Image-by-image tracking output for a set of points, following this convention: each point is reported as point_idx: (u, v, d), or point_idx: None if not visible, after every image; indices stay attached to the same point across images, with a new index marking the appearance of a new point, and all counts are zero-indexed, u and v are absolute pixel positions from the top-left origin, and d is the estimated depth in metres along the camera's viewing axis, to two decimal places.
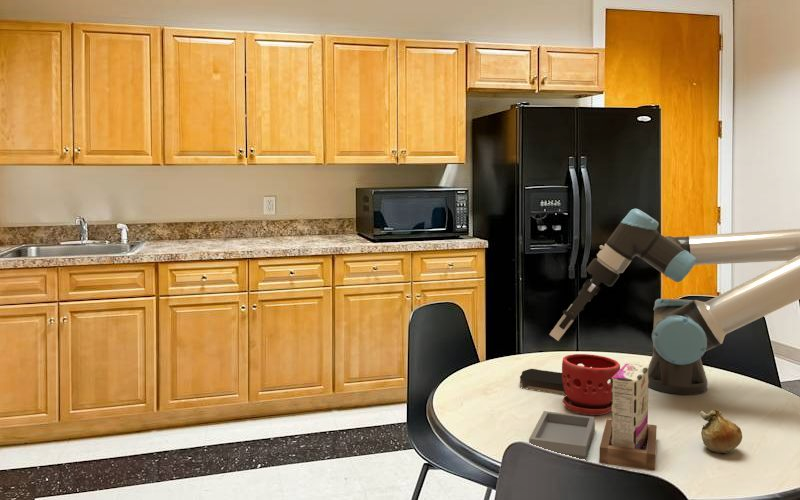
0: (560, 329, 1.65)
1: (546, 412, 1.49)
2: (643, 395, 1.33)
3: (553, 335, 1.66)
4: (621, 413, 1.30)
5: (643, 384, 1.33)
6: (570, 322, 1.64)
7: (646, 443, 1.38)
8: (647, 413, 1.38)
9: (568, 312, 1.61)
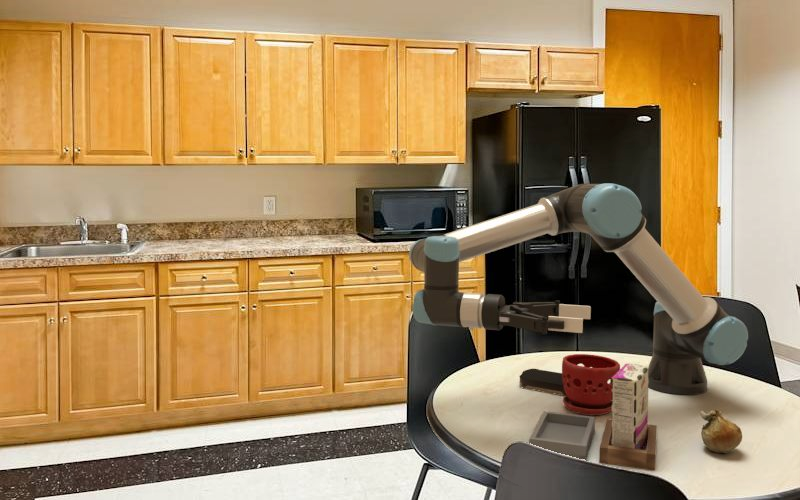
0: (567, 324, 1.30)
1: (546, 412, 1.49)
2: (643, 395, 1.33)
3: (579, 327, 1.29)
4: (621, 413, 1.30)
5: (643, 384, 1.33)
6: (552, 318, 1.31)
7: (646, 443, 1.38)
8: (647, 413, 1.38)
9: (537, 330, 1.30)
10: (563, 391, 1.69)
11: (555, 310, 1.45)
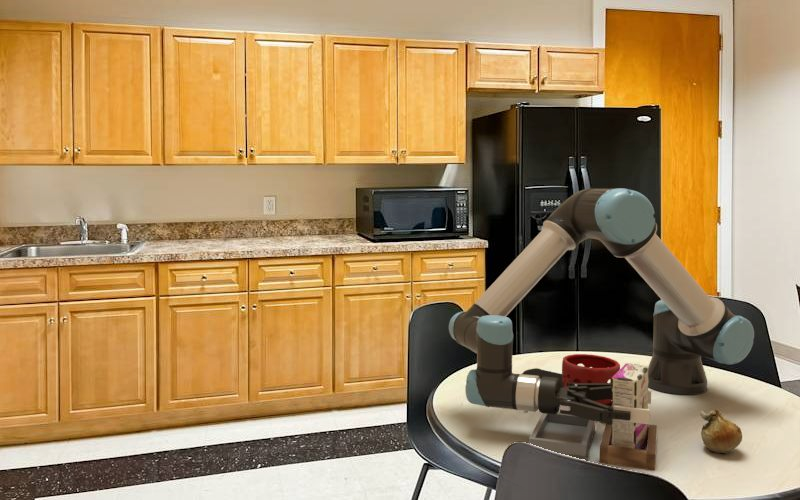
0: (634, 415, 1.28)
1: None
2: (643, 395, 1.33)
3: (646, 419, 1.27)
4: None
5: (643, 384, 1.33)
6: (618, 408, 1.29)
7: (646, 443, 1.38)
8: None
9: (603, 421, 1.27)
10: None
11: None
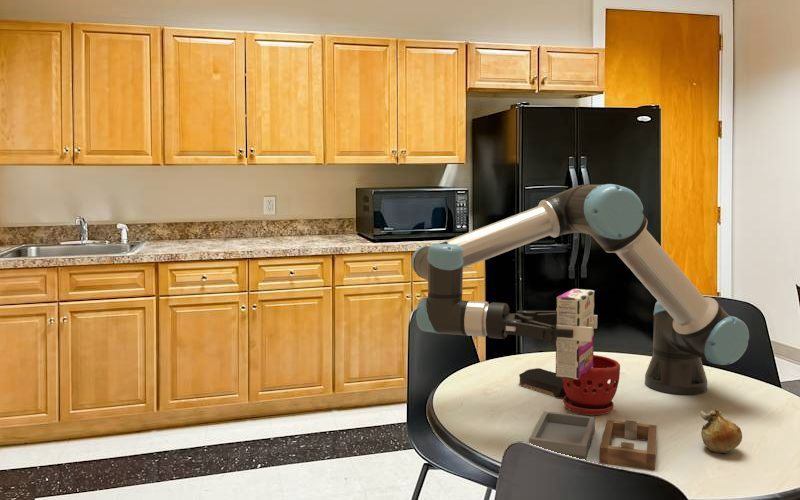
0: (576, 333, 1.30)
1: (546, 412, 1.49)
2: (588, 316, 1.36)
3: (588, 336, 1.29)
4: None
5: (587, 305, 1.35)
6: (561, 327, 1.31)
7: (592, 366, 1.40)
8: (593, 337, 1.40)
9: (546, 338, 1.30)
10: (554, 392, 1.68)
11: None
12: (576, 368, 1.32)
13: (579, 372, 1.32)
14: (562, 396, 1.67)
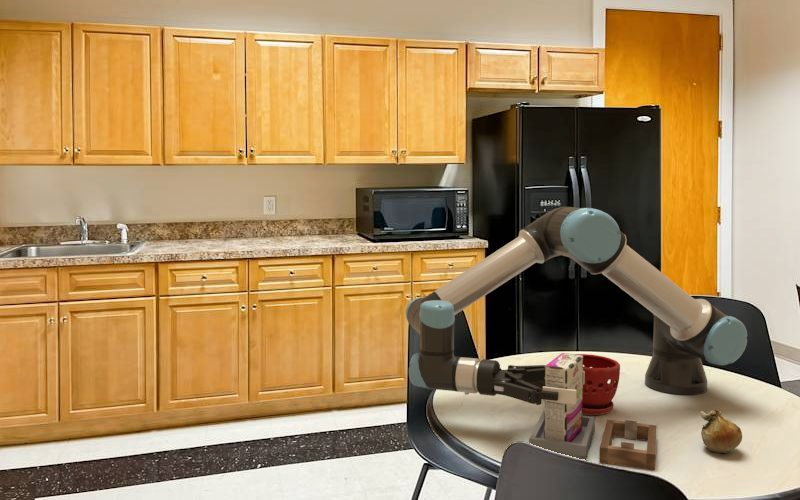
0: (561, 395, 1.32)
1: None
2: (576, 383, 1.38)
3: (573, 399, 1.31)
4: None
5: (576, 372, 1.37)
6: (546, 389, 1.33)
7: (580, 430, 1.43)
8: (581, 401, 1.42)
9: (532, 401, 1.31)
10: None
11: None
12: (564, 436, 1.34)
13: (567, 439, 1.35)
14: None
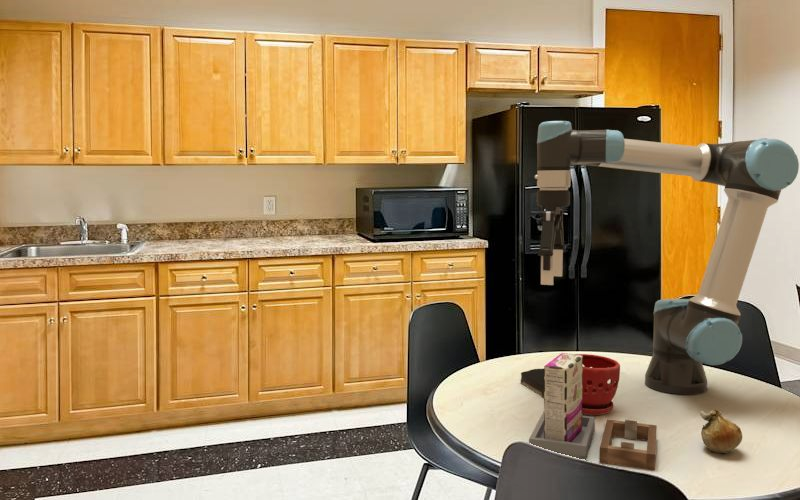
0: (547, 272, 1.51)
1: None
2: (575, 383, 1.38)
3: (545, 282, 1.51)
4: (552, 401, 1.35)
5: (575, 372, 1.37)
6: (551, 260, 1.50)
7: (580, 430, 1.43)
8: (581, 401, 1.42)
9: (541, 250, 1.48)
10: (541, 392, 1.68)
11: (556, 245, 1.63)
12: (564, 436, 1.34)
13: (567, 439, 1.35)
14: None
